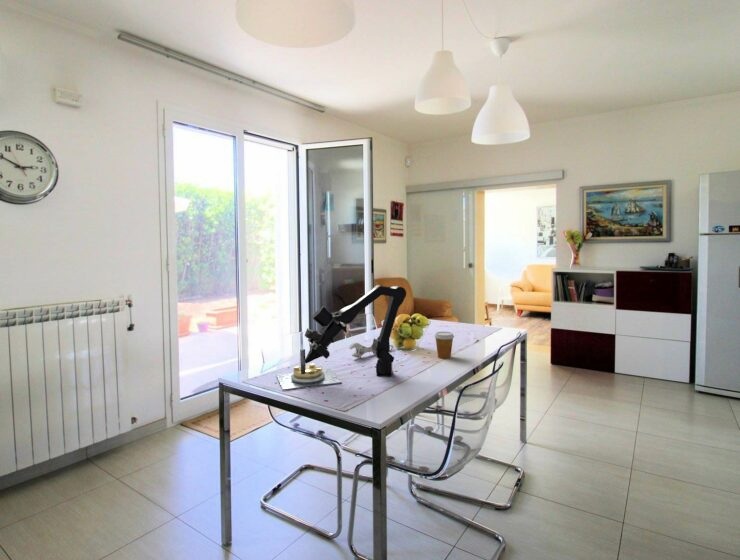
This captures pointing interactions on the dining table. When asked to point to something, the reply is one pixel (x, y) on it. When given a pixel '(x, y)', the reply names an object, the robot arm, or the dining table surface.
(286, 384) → the gray metal base plate
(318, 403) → the dining table surface
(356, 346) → the wrench
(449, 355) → the disposable coffee cup
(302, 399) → the dining table surface
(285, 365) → the dining table surface
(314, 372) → the brass chuck with rod
